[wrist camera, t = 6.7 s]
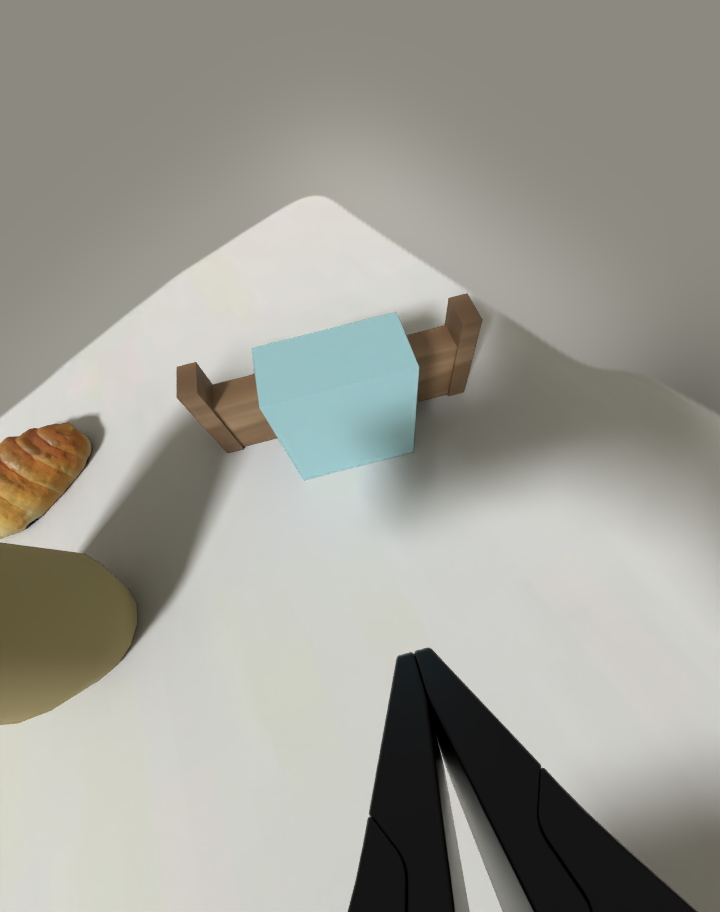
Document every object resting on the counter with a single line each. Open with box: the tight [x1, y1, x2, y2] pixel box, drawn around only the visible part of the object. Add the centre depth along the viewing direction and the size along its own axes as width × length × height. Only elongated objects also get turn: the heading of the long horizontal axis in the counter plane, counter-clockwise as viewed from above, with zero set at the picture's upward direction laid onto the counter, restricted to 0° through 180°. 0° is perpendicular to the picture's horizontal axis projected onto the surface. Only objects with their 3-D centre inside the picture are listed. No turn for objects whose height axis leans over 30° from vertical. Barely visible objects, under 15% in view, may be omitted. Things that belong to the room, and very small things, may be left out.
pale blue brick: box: [252, 312, 419, 480], centre depth 23 cm, size 8×8×9 cm
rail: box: [177, 294, 482, 453], centre depth 25 cm, size 2×18×7 cm, turn 104°
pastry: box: [0, 423, 91, 539], centre depth 26 cm, size 9×7×4 cm
